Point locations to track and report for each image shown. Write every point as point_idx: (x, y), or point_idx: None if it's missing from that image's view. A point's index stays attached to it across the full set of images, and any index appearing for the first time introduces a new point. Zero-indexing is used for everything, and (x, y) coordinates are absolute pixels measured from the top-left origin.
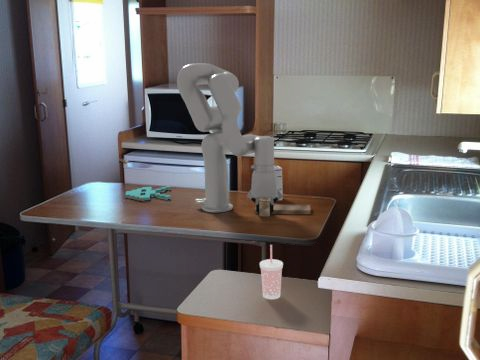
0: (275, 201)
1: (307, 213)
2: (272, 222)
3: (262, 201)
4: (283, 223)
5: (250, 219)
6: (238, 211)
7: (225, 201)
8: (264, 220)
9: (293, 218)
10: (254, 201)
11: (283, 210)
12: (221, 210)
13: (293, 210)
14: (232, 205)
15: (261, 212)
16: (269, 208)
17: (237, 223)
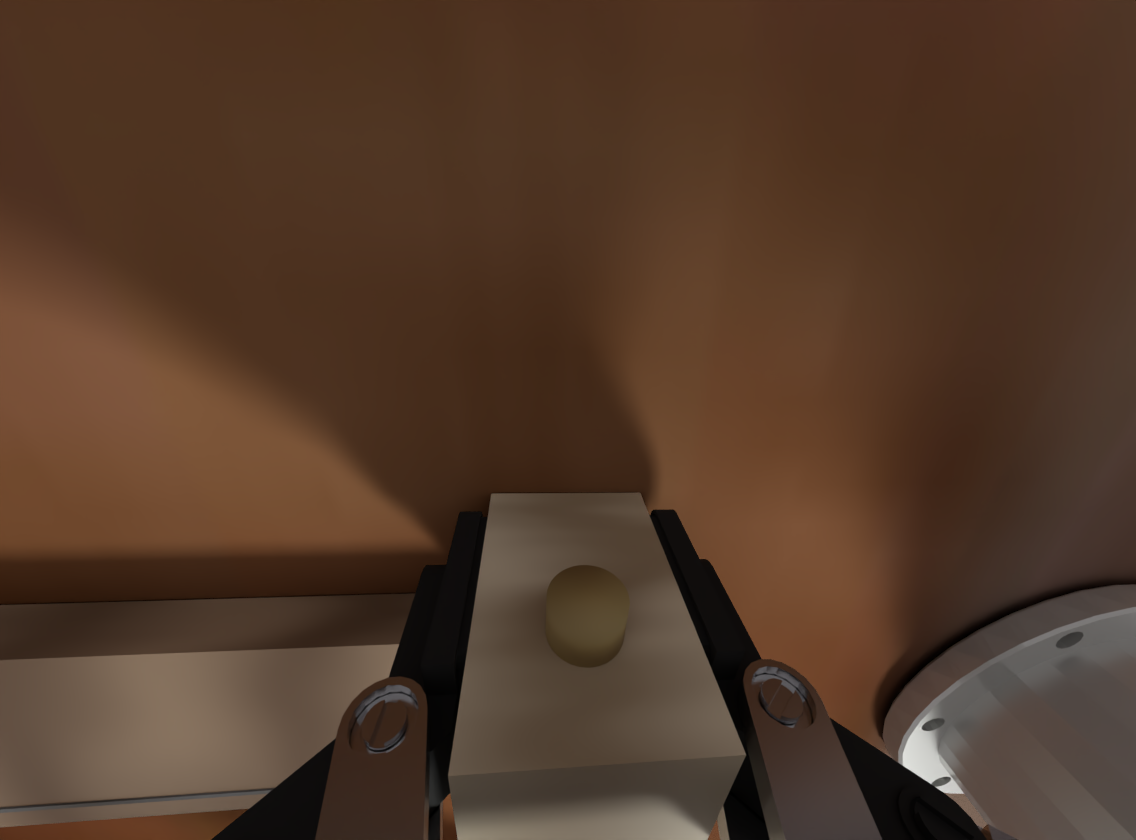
0: (280, 803)
1: None
2: (397, 130)
3: (659, 764)
4: (107, 21)
5: (797, 343)
6: (856, 638)
7: (1111, 770)
8: (568, 283)
9: (54, 406)
10: (849, 756)
11: (282, 642)
12: (1085, 614)
13: (112, 650)
14: (902, 741)
15: (623, 533)
16: (480, 595)
17: (1106, 74)
